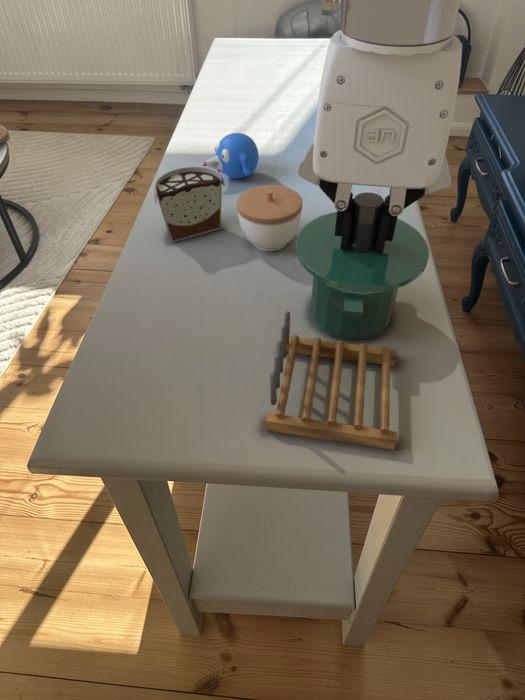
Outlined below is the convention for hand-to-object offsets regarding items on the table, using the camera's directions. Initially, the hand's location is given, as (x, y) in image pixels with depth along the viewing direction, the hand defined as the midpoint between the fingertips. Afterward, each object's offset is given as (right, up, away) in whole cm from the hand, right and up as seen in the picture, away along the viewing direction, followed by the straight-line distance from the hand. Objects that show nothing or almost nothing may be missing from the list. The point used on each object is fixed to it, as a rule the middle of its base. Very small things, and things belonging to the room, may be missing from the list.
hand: (362, 241), depth 46 cm
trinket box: (-8, +9, +38) cm, 40 cm away
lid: (0, -1, +1) cm, 1 cm away
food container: (-23, +12, +42) cm, 49 cm away
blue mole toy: (-16, +25, +54) cm, 62 cm away
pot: (+3, -5, +26) cm, 26 cm away
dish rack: (0, -16, +15) cm, 22 cm away
